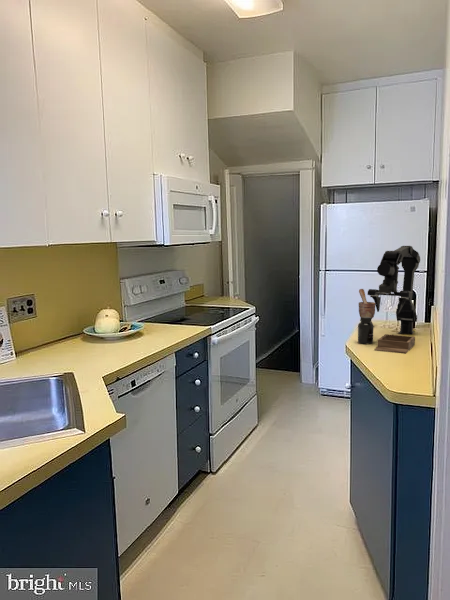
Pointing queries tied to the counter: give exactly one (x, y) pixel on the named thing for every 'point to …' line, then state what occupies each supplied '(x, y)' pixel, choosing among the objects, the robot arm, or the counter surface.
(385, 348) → the walnut tray
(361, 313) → the mortar and pestle
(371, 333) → the supplement bottle
